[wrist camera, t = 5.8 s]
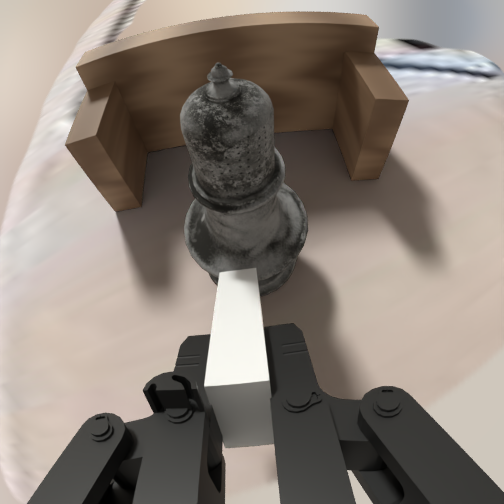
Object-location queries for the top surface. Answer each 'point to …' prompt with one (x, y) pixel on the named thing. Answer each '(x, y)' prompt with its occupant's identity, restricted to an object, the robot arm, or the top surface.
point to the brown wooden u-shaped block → (243, 67)
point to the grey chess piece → (239, 184)
